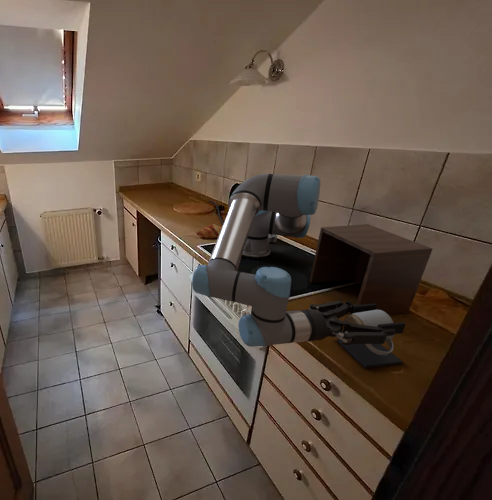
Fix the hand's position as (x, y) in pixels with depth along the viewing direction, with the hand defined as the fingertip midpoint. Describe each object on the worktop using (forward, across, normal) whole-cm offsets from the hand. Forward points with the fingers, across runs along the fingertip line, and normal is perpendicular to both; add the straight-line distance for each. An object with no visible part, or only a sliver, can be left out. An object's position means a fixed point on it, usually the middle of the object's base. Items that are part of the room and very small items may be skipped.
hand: (387, 317), depth 75 cm
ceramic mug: (-5, +1, -6) cm, 8 cm away
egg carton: (+12, -83, -11) cm, 85 cm away
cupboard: (+15, -26, -11) cm, 32 cm away
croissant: (-13, -93, -11) cm, 94 cm away
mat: (-2, 0, -11) cm, 11 cm away
